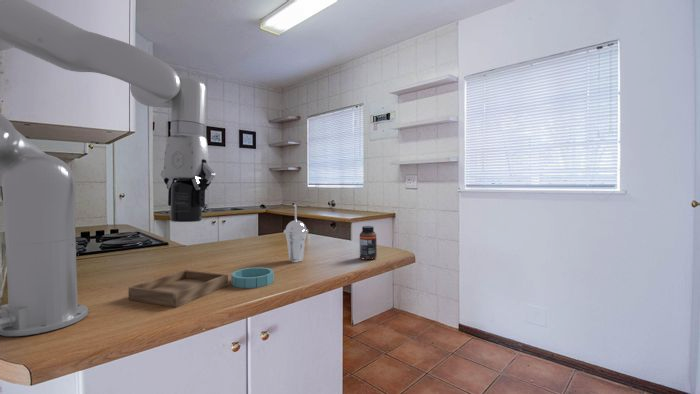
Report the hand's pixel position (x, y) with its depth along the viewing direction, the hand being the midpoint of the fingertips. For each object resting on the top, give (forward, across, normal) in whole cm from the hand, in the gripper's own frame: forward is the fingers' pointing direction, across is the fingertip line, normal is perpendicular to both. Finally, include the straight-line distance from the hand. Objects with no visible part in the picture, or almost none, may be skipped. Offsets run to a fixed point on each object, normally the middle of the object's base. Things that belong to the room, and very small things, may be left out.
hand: (186, 205), depth 79 cm
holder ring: (+20, +10, +13) cm, 26 cm away
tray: (+21, -1, 0) cm, 21 cm away
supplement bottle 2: (+19, +31, +50) cm, 62 cm away
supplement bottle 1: (+4, 0, 0) cm, 4 cm away
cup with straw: (+19, +9, +38) cm, 44 cm away
